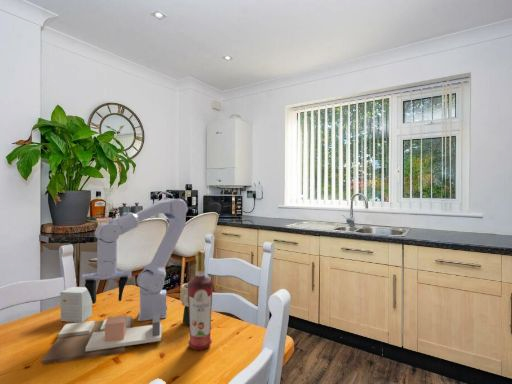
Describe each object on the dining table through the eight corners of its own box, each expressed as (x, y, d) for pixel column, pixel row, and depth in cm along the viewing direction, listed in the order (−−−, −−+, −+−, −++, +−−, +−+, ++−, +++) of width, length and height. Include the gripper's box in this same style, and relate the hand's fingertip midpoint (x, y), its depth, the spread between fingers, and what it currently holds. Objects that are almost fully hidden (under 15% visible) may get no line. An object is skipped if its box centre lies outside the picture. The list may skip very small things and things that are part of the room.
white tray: (161, 326, 96) (161, 311, 95) (161, 340, 87) (161, 323, 87) (93, 335, 90) (93, 319, 90) (85, 351, 81) (85, 333, 81)
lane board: (132, 320, 103) (132, 314, 103) (124, 352, 83) (124, 345, 83) (67, 328, 97) (67, 322, 97) (41, 364, 77) (41, 357, 77)
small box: (92, 315, 107) (92, 287, 106) (81, 322, 101) (81, 292, 101) (71, 314, 107) (71, 286, 107) (60, 321, 102) (59, 291, 102)
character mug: (193, 331, 95) (193, 291, 95) (174, 328, 97) (174, 289, 97) (208, 317, 106) (208, 281, 105) (190, 314, 108) (190, 279, 107)
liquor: (188, 354, 82) (188, 255, 81) (186, 341, 89) (187, 249, 89) (214, 351, 84) (214, 253, 83) (211, 338, 91) (211, 248, 90)
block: (125, 331, 91) (125, 315, 90) (123, 339, 86) (123, 322, 86) (108, 333, 89) (108, 317, 89) (104, 341, 84) (104, 324, 84)
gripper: (78, 264, 90) (78, 308, 90) (129, 261, 94) (129, 303, 94) (84, 259, 97) (84, 300, 97) (132, 256, 101) (132, 295, 101)
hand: (107, 301), depth 96 cm, fingers open, 7 cm apart
